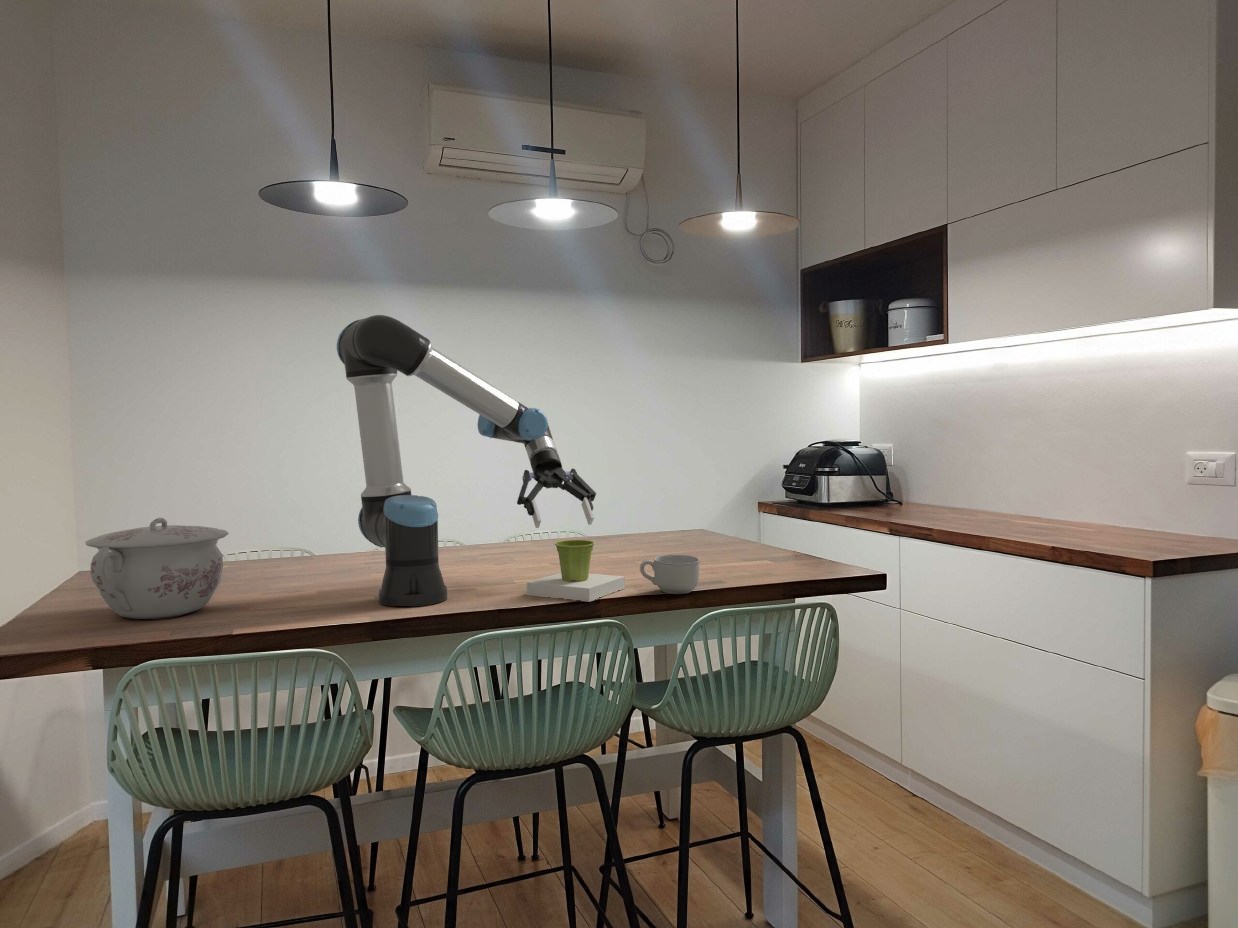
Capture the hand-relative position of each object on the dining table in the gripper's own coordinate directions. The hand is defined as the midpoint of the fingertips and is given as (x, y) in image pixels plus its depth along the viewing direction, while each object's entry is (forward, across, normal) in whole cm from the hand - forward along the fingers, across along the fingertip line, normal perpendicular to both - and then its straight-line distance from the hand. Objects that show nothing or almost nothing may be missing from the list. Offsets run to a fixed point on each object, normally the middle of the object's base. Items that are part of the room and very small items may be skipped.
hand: (565, 522), depth 210 cm
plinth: (+17, 0, -5) cm, 17 cm away
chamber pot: (+2, +88, -22) cm, 91 cm away
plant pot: (+14, +1, -3) cm, 15 cm away
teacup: (+24, -19, +2) cm, 30 cm away
